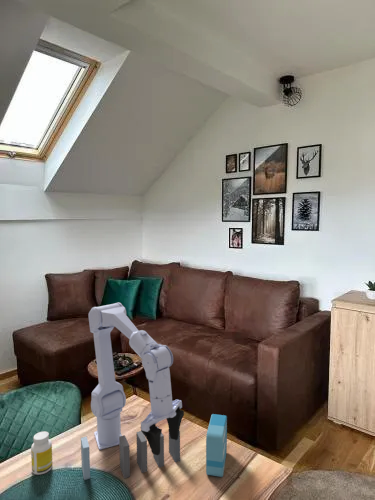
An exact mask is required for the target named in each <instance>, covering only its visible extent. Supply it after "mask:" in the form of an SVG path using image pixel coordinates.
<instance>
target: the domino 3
mask: <svg viewBox="0 0 375 500" xmlns="http://www.w3.org/2000/svg"><path fill="white" fill-rule="evenodd" d="M157 428H159V426H157ZM159 429H160V428H159ZM152 457H153V459H154V462H155V463H156V465H157V467H158V468H162V467H164V466H165V436H164V434H163V431H162V432H161V436H160V454H159V455H155V454H152Z"/></svg>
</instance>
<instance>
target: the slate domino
mask: <svg viewBox="0 0 375 500" xmlns="http://www.w3.org/2000/svg"><path fill="white" fill-rule="evenodd" d="M80 451H81V453H80V454H81V455H80V456H81V459H80V460H81V470H82V476H83V480H84V481H86V480H89V479H91V460H90V459H91V458H90V457H91V455H90V454H91V453H90V452H91V451H90V443H89V441H88V437H87V436H84V437H80Z"/></svg>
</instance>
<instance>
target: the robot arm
mask: <svg viewBox="0 0 375 500" xmlns="http://www.w3.org/2000/svg"><path fill="white" fill-rule="evenodd" d="M88 322H89V323H88V325H89V332H90V333H92V334H93V342H94V343H93V344H94V351H95V361H96V369H97V377H98V384H97V385H96V386H95V388H94V389H93V390H92V392H91V399H90V400H91V401H90V410H91V412H92V414H93V416H94V417H96V431H94V432H93V434H94V439H95V441H96V445H97V448H98V450H99V451H100V450H104V449H105V450H106V449H107V448H112V447H115V446H119V437H120V436H123V434H122V433H121V431H122V430H121V429H122V426H121V425H122V423H121V419H122V418H121V412H123V408H125V406H126V403H127V399H126V393H125V392H124V387H123V385H122V384H121V383H120V382H118V381H116V375H115V366H114V365H115V364H114V358H113V348H112V340H111V332H112V331H113V330H114V328H116V329H117V330H118V331H119V332H121V334H122V335H124V337H126V338H128V339H129V340H128V341H129V342H128V345H129V346H130V348H131V349H132V350H133V351H134V352H135V353H136V355H138V356H139V357H140V359H141V363H142V364H141V365H142V367H143V369H144V372H145V377H146V380H148V388H149V389H148V390H149V399H150V400H149V401H150V410H151V411H150V412H149V413H148V414H147V416H146V417H145V418H144V420H142V421H141V422H140V431H142V433H143V434H144V436H145V438H146V440H147V444H148V445H149V448H150V451H151V453H152V455H153V454H155V455H159V454H160V436H161V432H162V433H163V429H162V428H157V427H158V426H157V424H158V423H160V422H161V421H164V420H166V422H167V427H168V435H169V434H170V438H171V439H174V440H177V439H178V436H179V431H180V427H181V424H182V420H183V417H184V415H185V411H184V410H182V408H183V402H182V400H181V399H178V398H177V399H175V400H173V394H172V393H173V392H172V382H171V381H172V380H171V372H170V367H171V366H172V365H173V364H174V355H173V353H172V350H171V349H170V348H169V346H168V345H166V344H162V343H158V342H157V341H155V339H153V337H152V336H150V335H149V333H148V332H147V331H146V330H143V329H141V330H139V328H137V327H136V326H135V324H134V323H133V322H132V321H131V319H130V318H129V316H127V310H126V307H125V306H124V305H123V304H122V303H121V302H115V303H111V304H106V305H101V306H93V307H91V309H90V310H89V312H88Z"/></svg>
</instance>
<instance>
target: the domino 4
mask: <svg viewBox="0 0 375 500" xmlns="http://www.w3.org/2000/svg"><path fill="white" fill-rule="evenodd" d="M168 453H169V454H170V456H171V458H172V460H173V461H174V463H177V462H180V461H181V431H180V430H179V436H178V439H177V440H174V439H171V438H170V434H169V433H168Z"/></svg>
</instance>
